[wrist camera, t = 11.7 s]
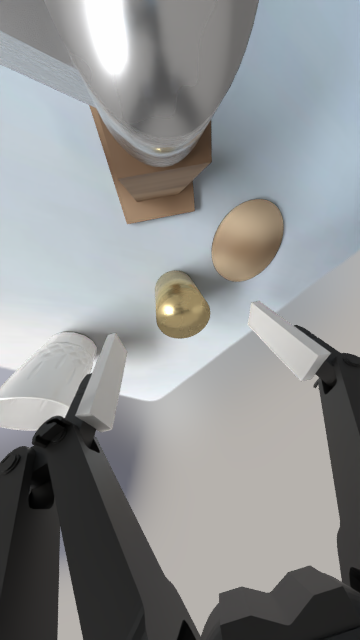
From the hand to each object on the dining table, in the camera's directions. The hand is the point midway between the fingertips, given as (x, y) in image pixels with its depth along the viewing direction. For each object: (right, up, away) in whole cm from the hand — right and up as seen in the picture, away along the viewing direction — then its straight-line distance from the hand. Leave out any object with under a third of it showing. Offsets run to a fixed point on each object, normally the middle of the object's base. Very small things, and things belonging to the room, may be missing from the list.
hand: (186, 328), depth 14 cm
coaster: (+8, +10, +4) cm, 14 cm away
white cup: (-18, -4, +9) cm, 21 cm away
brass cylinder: (-1, +5, +6) cm, 8 cm away
